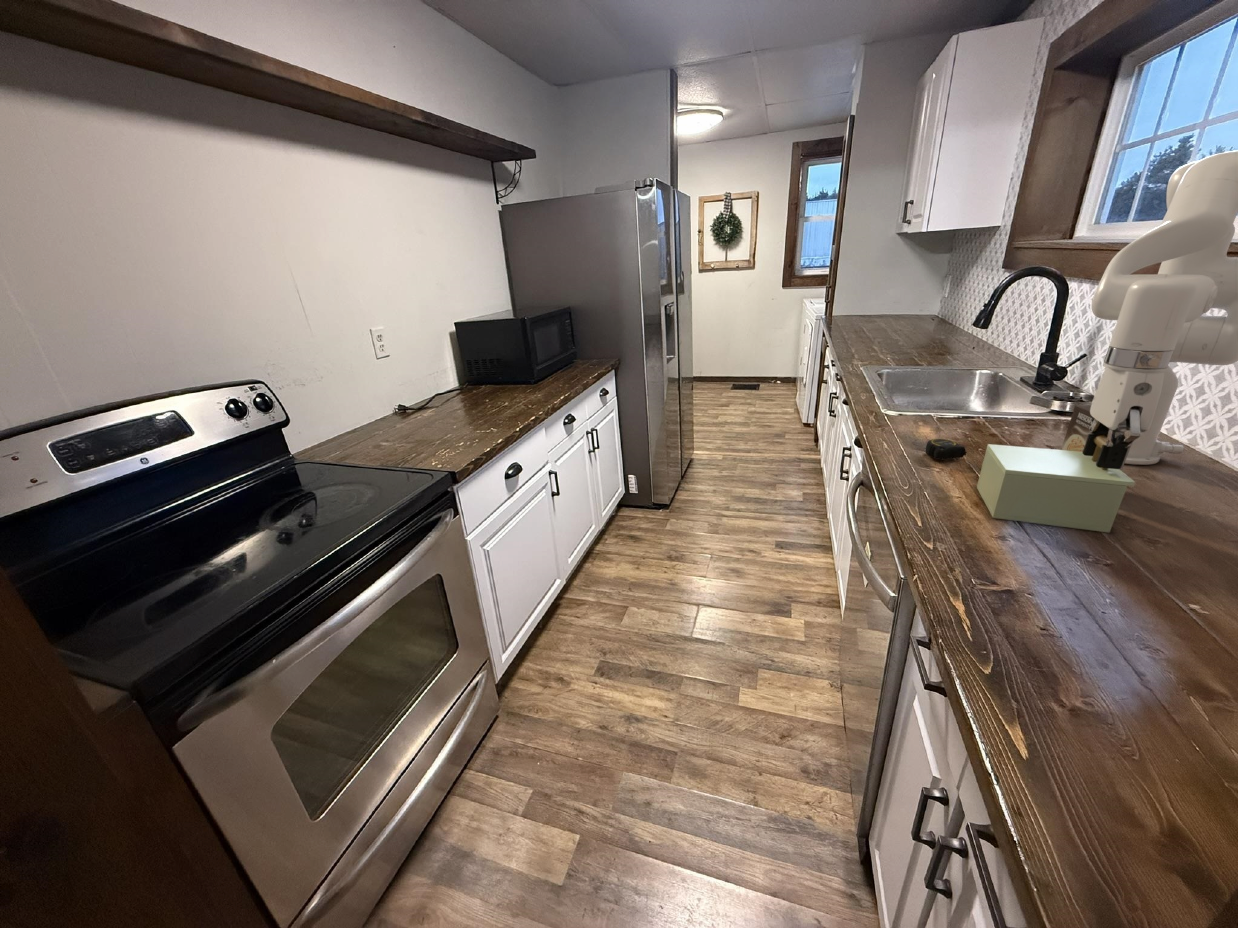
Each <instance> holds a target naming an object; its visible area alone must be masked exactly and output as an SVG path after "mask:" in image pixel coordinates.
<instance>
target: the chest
mask: <svg viewBox="0 0 1238 928" xmlns="http://www.w3.org/2000/svg"><path fill="white" fill-rule="evenodd" d="M976 489H977V491H978V493H979V495H980V497H981V498H982V500H983V502H984V504H985V506H986V508H987V510H988V512H989V513H990V515H991V517H992V518H993V519H998V520H1008V521H1016V522H1022V523H1030V524H1038V525H1044V526H1045V525H1046V526H1047V525H1048V526H1053V527H1054V526H1055V527H1060V528H1061V527H1062V528H1070V529H1077V530H1085V531H1094V532H1101V533H1107V534H1108V533H1111V530H1112V527H1113V525H1114V523H1115V520H1116V517H1117V514H1118V511H1119V509H1120V507H1121V504H1122V501H1123V499H1124V497H1125V493H1126V491H1127V489H1128V486H1124V485H1114V484H1104V483H1094V482H1083V481H1073V480H1063V479H1053V478H1043V477H1033V476H1022V475H1012V474H1005V473H1004V472H1003V470H1002V469H1001V467H1000V466H999V464H998V463H997V461H996V460H995V459H994V457H993V456H992V454H991V453H990V451H989V450H988V448H987V447H986V450H985V453H984V457H983V461H982V465H981V469H980V473H979V477H978V481H977V484H976Z"/></svg>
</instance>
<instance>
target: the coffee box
mask: <svg viewBox="0 0 1238 928" xmlns="http://www.w3.org/2000/svg"><path fill="white" fill-rule="evenodd" d="M1091 405H1092V404H1086V405H1085V404H1084V405H1083V404H1082V405H1081V404H1080V405H1079V404H1078V405H1077V404H1075V405H1074V408H1073V411H1072V414H1071V417H1070V420H1069V423H1068V425H1067V428H1066V429H1067V430H1066V432H1065V436H1064V438H1063V442H1062V445H1061V448H1060V450H1067V451H1080V452H1083V449H1084V446H1085V443H1086V440H1087V437H1088V434H1090V433H1089V429H1090V427H1091V425H1092V421H1091V420H1092V418H1093V417H1092V416H1091V414H1090V409H1091ZM1118 427H1119V429H1126V425H1118ZM1123 434H1124V432H1116V435H1115V438H1116V437H1117V436H1118V435H1123ZM1131 445H1132V443H1131ZM1130 448H1131V446H1130ZM1130 448H1128V450H1127V453H1126V456H1125V458H1124V461H1123V464H1122V466H1121V468H1120V470H1121V471H1122V472H1123V468H1124V465H1125V460H1126V458H1127V456H1128V453H1129V450H1130Z"/></svg>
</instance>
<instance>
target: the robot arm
mask: <svg viewBox="0 0 1238 928" xmlns="http://www.w3.org/2000/svg"><path fill="white" fill-rule="evenodd" d="M1169 177H1170V178H1169V180H1168V183H1167V186H1166V195H1165V196H1166V199H1165V200H1166V201H1165V202H1166V210H1167V211H1166V212H1165V214H1164V217H1163V219H1162V221H1161V223H1160V225H1159V226H1157V227H1155V228H1153V229H1151V230H1149V231H1147V232H1145V233H1143V235H1141V236H1139V237H1137V238H1136V239H1134V240H1133V241H1131V242H1129V243H1128V244H1127V245H1126V246H1124V247H1123V248H1122V249H1121V250H1119V251H1118V252H1117V253H1116V254H1115V255H1114V256H1113V257H1112V258H1111V260H1110V262H1109V263H1108V265H1107V266H1106V268H1105V269H1104V272H1103V274H1102V277H1101V279H1100V281H1099V283H1098V285H1097V286H1096V289H1095V291H1094V294H1093V297H1092V301H1091V312H1092V314H1093V315H1094V316H1095V317H1097V319H1099V320H1100V319H1101V320H1105V321H1116V323H1115V327H1114V330H1113V333H1112V335H1111V338H1110V342H1109V345H1108V348H1107V351H1106V353H1105V354H1106V355H1105V357H1104V360H1103V363H1102V367H1104V368H1105V369H1104V371H1103V373H1102V375H1101V376H1100V377H1101V378H1100V380H1099V383H1098V384H1097V387H1096V390H1095V392H1094V396H1093V398H1092V401H1091V404H1090V405H1091V409H1090V414H1091V416H1092V417H1093V418H1092V420H1091V421H1092V425H1091V427H1090V429H1089V433H1090V434H1088V437H1087V440H1086V443H1085V446H1084V449H1083V452H1082V453H1083V454H1084V455H1085V456H1093V454H1094V451H1095V448H1096V444H1095V443H1094V439H1095V437H1097V436H1100V435H1103V436H1106V437H1107V442H1106V445H1102V448H1101V451H1100V454H1099V457H1098V460H1097V463H1096V466H1097V467H1099V468H1110V469H1120V468H1121V466H1122V464H1123V461H1124V458H1125V456H1126V453H1127V450H1128V448H1130V446H1131V448H1130V450H1129V453H1128V456H1127V458H1126V460H1125V463H1124V465H1125V464H1126V465H1138V466H1140V465H1141V466H1148V465H1155V464H1157V463H1159V462H1160V459H1161V456H1160V455H1159V454H1164V453H1169V454H1177V455H1181V454H1183V453H1184V451H1185V446H1184V445H1183V444H1170V442H1169V441H1160V440H1159V439H1158V438H1159V437H1160V433H1161V430H1162V428H1163V425H1164V423H1165V420H1166V417H1167V415H1168V413H1169V410H1170V407H1171V405H1172V402H1173V400H1174V397H1175V395H1176V392H1177V389H1178V387H1179V378H1178V377H1177V375H1176V373H1175V372H1174V371H1173V369H1172V368H1171V366H1170V363H1181V364H1182V363H1183V364H1195V365H1207V366H1229V365H1233V364H1236V363H1237V362H1238V256H1234V257H1233V256H1232V257H1230V256H1228V255H1227V254H1228V251H1229V248H1230V245H1231V243H1232V241H1233V238H1234V236H1235V233H1236V227H1235V225H1234V223H1235V220H1236V217H1237V215H1238V149H1236V150H1231V151H1223V152H1219V153H1215V154H1212V155H1208V156H1206V157H1204V158H1202V159H1200V160H1196V161H1192V162H1189V163H1187V164H1183V165H1182V166H1179V167H1178V168H1177V169H1176V170H1175V171H1174V172H1173V173H1172V174H1171V175H1170V176H1169ZM1160 263H1161V264H1160ZM1156 264H1160V265H1159V269H1158V272H1157V273H1154V274H1153V273H1152V274H1149V273H1148V274H1147V273H1145V274H1137V273H1136V274H1133V273H1135V272H1138V271H1139V270H1142V269H1144V268H1146V267H1149V266H1152V265H1156ZM1211 309H1215V310H1216V309H1219V310H1223V311H1225V312H1226V314H1227V315H1226V316H1224V315H1204V314H1206V313H1208V312H1209V311H1210V310H1211ZM1118 425H1126V429H1119V427H1118ZM1116 432H1124V434H1123V435H1118V436H1117V437H1116V438H1115V435H1116ZM1131 443H1132V445H1131Z"/></svg>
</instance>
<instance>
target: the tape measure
mask: <svg viewBox="0 0 1238 928" xmlns="http://www.w3.org/2000/svg"><path fill="white" fill-rule="evenodd" d="M967 453H968V451H967V450H966V447H965V446H963V445H961V444H958V443H957V442H956V441H953V440H950V439H946V438H932V439H930V440H928V441H927V442H926V446H925V454H926V455H927V456H928V457H931V458H933V459H936V460H943V461H946V460H952V459H960V458H963V457H964V456H967Z"/></svg>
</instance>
